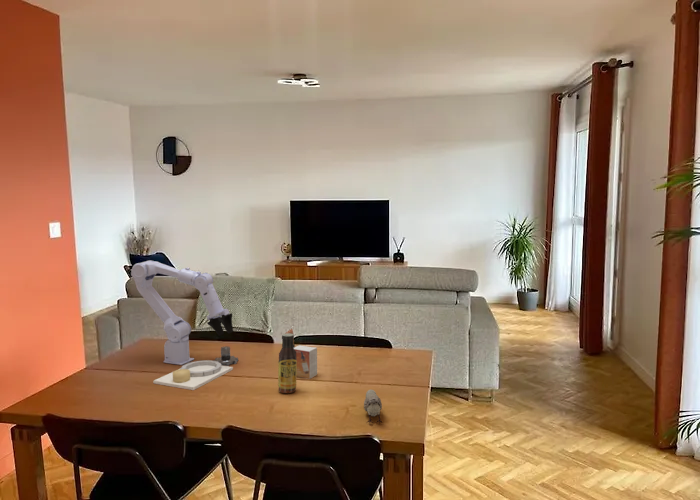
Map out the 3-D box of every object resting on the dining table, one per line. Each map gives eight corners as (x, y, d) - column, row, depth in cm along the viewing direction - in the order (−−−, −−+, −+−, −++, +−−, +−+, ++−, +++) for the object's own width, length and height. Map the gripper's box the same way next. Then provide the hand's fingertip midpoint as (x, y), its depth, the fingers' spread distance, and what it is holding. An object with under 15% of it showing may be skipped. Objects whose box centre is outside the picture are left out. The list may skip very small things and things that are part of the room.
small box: (291, 376, 199) (290, 348, 198) (299, 371, 204) (299, 344, 203) (309, 379, 196) (309, 351, 194) (317, 374, 201) (317, 347, 199)
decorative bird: (378, 404, 173) (378, 381, 172) (384, 426, 157) (384, 401, 156) (362, 404, 172) (362, 382, 172) (365, 426, 156) (365, 401, 156)
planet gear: (208, 364, 214) (208, 349, 213) (223, 357, 223) (222, 343, 222) (228, 367, 210) (228, 352, 209) (242, 359, 219) (242, 345, 218)
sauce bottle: (279, 395, 181) (278, 337, 178) (277, 388, 187) (275, 333, 184) (298, 393, 182) (297, 336, 180) (295, 386, 188) (294, 331, 186)
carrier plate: (153, 383, 193) (152, 372, 193) (195, 364, 214) (195, 354, 214) (193, 390, 186) (193, 379, 186) (232, 369, 207) (232, 359, 207)
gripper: (229, 295, 210) (243, 327, 211) (212, 301, 221) (225, 332, 221) (214, 302, 205) (228, 334, 206) (197, 308, 216) (211, 339, 216)
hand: (226, 333), depth 213 cm, fingers open, 7 cm apart
